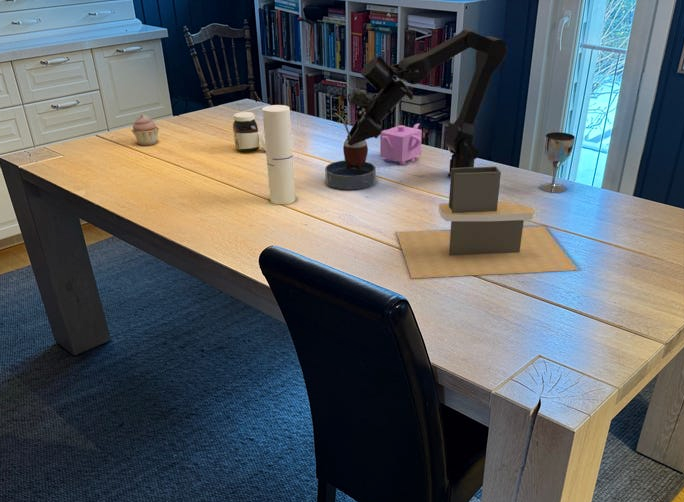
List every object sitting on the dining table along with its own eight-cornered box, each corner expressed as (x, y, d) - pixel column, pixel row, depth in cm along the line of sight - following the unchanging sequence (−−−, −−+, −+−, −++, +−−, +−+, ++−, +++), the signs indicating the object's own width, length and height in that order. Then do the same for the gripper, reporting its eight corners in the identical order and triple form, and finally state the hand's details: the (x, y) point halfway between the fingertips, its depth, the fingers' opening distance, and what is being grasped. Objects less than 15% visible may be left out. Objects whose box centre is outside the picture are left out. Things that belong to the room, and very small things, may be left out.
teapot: (423, 167, 214) (424, 132, 208) (381, 167, 214) (381, 132, 208) (418, 152, 227) (419, 119, 221) (378, 153, 226) (379, 120, 220)
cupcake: (133, 140, 240) (127, 111, 234) (160, 138, 242) (155, 109, 236) (134, 148, 232) (128, 118, 227) (162, 145, 235) (157, 116, 229)
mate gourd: (372, 168, 195) (371, 114, 187) (347, 172, 192) (345, 118, 184) (360, 161, 201) (359, 109, 193) (336, 165, 198) (334, 112, 190)
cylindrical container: (291, 205, 188) (284, 112, 174) (266, 203, 189) (258, 111, 175) (298, 196, 193) (292, 105, 179) (274, 194, 195) (267, 104, 181)
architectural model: (543, 226, 174) (555, 149, 163) (578, 270, 153) (594, 185, 142) (396, 232, 171) (398, 155, 160) (411, 278, 150) (414, 192, 139)
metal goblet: (535, 190, 196) (542, 138, 188) (542, 181, 202) (550, 130, 194) (562, 194, 193) (571, 141, 185) (569, 186, 199) (577, 134, 191)
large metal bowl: (385, 179, 204) (385, 166, 202) (355, 194, 194) (355, 179, 192) (346, 170, 212) (346, 157, 209) (315, 183, 202) (314, 169, 200)
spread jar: (232, 147, 233) (228, 112, 226) (264, 143, 237) (261, 108, 230) (242, 157, 224) (238, 121, 217) (275, 152, 228) (272, 116, 221)
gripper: (364, 71, 191) (327, 113, 197) (368, 86, 176) (327, 130, 181) (391, 99, 196) (354, 139, 201) (397, 116, 180) (357, 158, 186)
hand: (348, 141), depth 192 cm, fingers closed on mate gourd, 6 cm apart
